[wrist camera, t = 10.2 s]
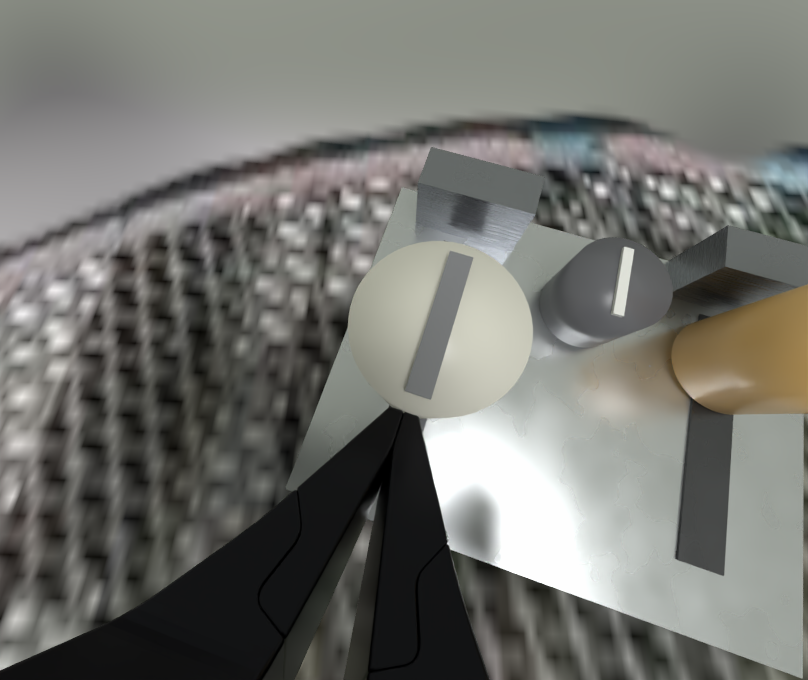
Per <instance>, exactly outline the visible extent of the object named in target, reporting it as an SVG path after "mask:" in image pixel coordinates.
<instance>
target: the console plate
mask: <svg viewBox="0 0 808 680" xmlns="http://www.w3.org/2000/svg"><path fill="white" fill-rule="evenodd" d="M544 178H545V177H543V176H539V175H536V174H532V173H528V172H524V171H520V170H517V169H513V168H509V167H505V166H501V165H498V164H494V163H490V162H486V161H483V160H479V159H475V158H471V157H467V156H464V155H460V154H456V153H452V152H448V151H445V150H441V149H437V148H433V147H431V149H430V152H429V154H428V157H427V160H426V162H425V165H424V168H423V170H422V173H421V176H420V178H419V181H418V191H414V190H410V189H407V188H403V187H402V189H401V192H400V194H399V197H398V199H397V202H396V204H395V207H394V210H393V212H392V215H391V217H390V220H389V222H388V225H387V228H386V230H385V233H384V235H383V238H382V241H381V243H380V246H379V248H378V251H377V253H376V256H375V259H374V261H373V264H372V266H371V268H372V267H374V266H375V265H376V264H377V263H378V262H379V261H380V260H382V259H383V258H385V257H386V256H387V255H389V254H391V253H393V252H394V251H396V250H398V249H401V248H403V247H406V246H408V245H412V244H416V243H420V242H428V241H447V242H455V243H459V244H464V245H467V246H470V247H473V248H475V249H477V250H480V251H482V252H484V253H486V254H487V255H489V256H490V257H492V258H493V259H495V260H496V261H497V262H499V263H500V264H501V265H502V266H504V267H505V268H506V270H507V271H508V272H509V273H510V274H511V275H512V276H513V277H514V279H515V280H516V281H517V283H518V284H519V286H520V288H521V289H522V291H523V293H524V295H525V297H526V300H527V302H528V305H529V308H530V312H531V316H532V325H533V340H532V347H531V352H530V355H529V359H528V362H527V364H526V366H525V368H524V371H523V373H522V374H521V376H520V377H519V379H518V380H517V382H516V383H515V384H514V386H513V387H512V388H511V389H510V390H509V391H508V392H507V393H506V394H505V395H504V396H503V397H501V398H500V399H499V400H498V401H496V402H495V403H493V404H492V405H490V406H488V407H487V408H484V409H482V410H480V411H478V412H475V413H472V414H468V415H465V416H459V417H453V418H431V419H420V423H421V428H422V432H423V436H424V440H425V445H426V449H427V453H428V457H429V462H430V466H431V470H432V474H433V479H434V483H435V487H436V491H437V496H438V500H439V504H440V509H441V513H442V517H443V521H444V526H445V530H446V534H447V538H448V543H447V544H448V545H449V546H450V550H453V551H456V552H459V553H461V554H464V555H467V556H469V557H472V558H475V559H478V560H480V561H483V562H486V563H489V564H491V565H494V566H497V567H500V568H502V569H505V570H508V571H510V572H513V573H516V574H519V575H521V576H524V577H527V578H530V579H532V580H535V581H538V582H540V583H543V584H546V585H549V586H551V587H554V588H557V589H560V590H562V591H565V592H568V593H570V594H573V595H576V596H579V597H581V598H584V599H587V600H590V601H592V602H595V603H598V604H601V605H603V606H606V607H609V608H611V609H614V610H617V611H620V612H622V613H625V614H628V615H631V616H633V617H636V618H639V619H641V620H644V621H647V622H650V623H652V624H655V625H658V626H661V627H663V628H666V629H669V630H671V631H674V632H677V633H680V634H682V635H685V636H688V637H691V638H693V639H696V640H699V641H702V642H704V643H707V644H710V645H712V646H715V647H718V648H721V649H723V650H726V651H729V652H732V653H734V654H737V655H740V656H742V657H745V658H748V659H751V660H753V661H756V662H759V663H762V664H764V665H767V666H770V667H772V668H775V669H778V670H781V671H783V672H786V673H789V674H792V675H794V676H797V677H800V678H802V679H803V414H743V415H729V414H722V413H718V412H715V411H712V410H710V409H708V408H706V407H704V406H702V405H701V404H699V403H698V402H697V401H695V400H694V399H693V398H692V397H691V396H690V395H689V394H688V393H687V392H686V391H685V390H684V388H683V387H682V386H681V384H680V383H679V381H678V379H677V377H676V375H675V372H674V369H673V365H672V358H671V354H672V346H673V343H674V340H675V338H676V337H677V335H678V334H679V332H680V331H681V330H682V329H683V328H685V327H686V326H688V325H689V324H691V323H694V322H697V321H700V320H703V319H706V318H709V317H712V316H714V315H717V314H720V313H723V312H726V311H729V310H732V309H735V308H738V307H741V306H744V305H747V304H750V303H753V302H756V301H759V300H762V299H765V298H768V297H771V296H774V295H777V294H780V293H783V292H786V291H789V290H792V289H795V288H798V287H801V286H804V285H807V284H808V246H805V245H801V244H797V243H793V242H790V241H786V240H782V239H778V238H774V237H771V236H767V235H763V234H759V233H755V232H752V231H748V230H744V229H740V228H737V227H733V226H729V225H728V226H726V227H725V228H723V229H721V230H720V231H718V232H716V233H715V234H713V235H711V236H710V237H708V238H706V239H705V240H703V241H701V242H700V243H698V244H696V245H695V246H693V247H691V248H690V249H688V250H686V251H685V252H683V253H681V254H680V255H678V256H676V257H675V258H673V259H671V260H670V261H667V260H664V259H660V258H659V259H660V260H661V261H662V263H663V264H664V265H665V267H666V269H667V271H668V273H669V275H670V278H671V281H672V287H673V297H672V302H671V305H670V308H669V309H668V311H667V313H666V314H665V315H664V317H663V318H662V319H661V320H659V321H658V322H657V323H655V324H654V325H652V326H649V327H647V328H644V329H642V330H639V331H636V332H634V333H631V334H628V335H626V336H623V337H621V338H618V339H615V340H613V341H610V342H607V343H605V344H602V345H599V346H596V347H590V348H583V347H576V346H572V345H570V344H567V343H565V342H563V341H561V340H560V339H558V338H557V337H556V336H555V335H553V334H552V333H551V331H550V330H549V329H548V328H547V326H546V325H545V323H544V321H543V319H542V317H541V313H540V308H539V300H540V295H541V292H542V290H543V288H544V286H545V285H546V283H547V282H548V281H549V280H550V279H551V278H552V277H553V276H554V275H555V274H556V273H558V272H559V271H560V270H561V269H562V268H563V267H564V266H565V265H566V264H567V263H568V262H569V261H570V260H571V259H572V258H573V257H574V256H575V255H576V254H577V253H578V252H580V251H581V250H582V249H583V248H584V247H585V246H586V245H588V244H590V243H591V242H594V241H595V240H591V239H588V238H584V237H580V236H577V235H573V234H570V233H566V232H562V231H559V230H555V229H551V228H548V227H544V226H541V225H537V224H533V223H530V222H531V220H532V219H533V217H534V216H535V214H536V210H537V206H538V202H539V198H540V194H541V190H542V186H543V182H544ZM370 270H371V269H370ZM389 407H391V406H390V405H389V404H388V403H387V402H386V401H385V400H384V399H383V398H382V397H381V396H380V395H379V394H378V393H377V392H376V391H375V390H374V389H373V388H372V387H371V385H370V384H369V383H368V382H367V380H366V379H365V378H364V376H363V375H362V373H361V372H360V370H359V368H358V366H357V364H356V362H355V360H354V357H353V354H352V351H351V347H350V343H349V336H348V328H347V331H346V333H345V336H344V338H343V341H342V344H341V346H340V349H339V351H338V354H337V357H336V359H335V362H334V364H333V367H332V369H331V372H330V375H329V377H328V380H327V382H326V385H325V387H324V390H323V393H322V395H321V398H320V400H319V403H318V406H317V408H316V411H315V413H314V416H313V418H312V421H311V424H310V426H309V429H308V431H307V434H306V436H305V439H304V442H303V444H302V447H301V449H300V452H299V455H298V457H297V460H296V462H295V465H294V467H293V470H292V473H291V475H290V478H289V480H288V483H287V485H286V488H285V489H287V490H289V491H292V492H293V491H294V490H297V488H298V487H299V486H300V485H301V484H302V483H303V482H304V481H305V480H307V479H308V478H309V477H310V476H311V475H312V474H313V473H314V472H316V471H317V470H318V469H319V468H320V467H321V466H322V465H324V464H325V463H326V462H327V461H328V460H329V459H330V458H332V457H333V456H334V455H335V454H336V453H337V452H338V451H339V450H341V449H342V448H343V447H344V446H345V445H346V444H347V443H349V442H350V441H351V440H352V439H353V438H354V437H355V436H357V435H358V434H359V433H360V432H361V431H362V430H363V429H365V428H366V427H367V426H368V425H369V424H370V423H371V422H372V421H374V420H375V419H376V418H377V417H378V416H379V415H380V414H382V413H383V412H384V411H385V410H386V409H387V408H389ZM379 491H380V489H379ZM378 495H379V492H378V494H377V497H376V499H375V502H374V504H373V506H372V508H371V510H370V513H369V515H368V517H367V519H368V520H371V521H374V516H375V510H376V505H377V500H378Z"/></svg>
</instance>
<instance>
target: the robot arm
mask: <svg viewBox="0 0 808 680" xmlns="http://www.w3.org/2000/svg"><path fill="white" fill-rule="evenodd" d="M379 489H380V491H379ZM378 492H379V495H378V500H377V505H376V510H375V516H374V521H373V526H372V531H371V537H370V542H369V547H368V553H367V558H366V563H365V569H364V574H363V579H362V584H361V590H360V595H359V600H358V606H357V611H356V616H355V621H354V627H353V632H352V637H351V643H350V648H349V653H348V658H347V664H346V669H345V674H344V680H490V679H489V676H488V673H487V670H486V667H485V664H484V661H483V658H482V655H481V652H480V650H479V647H478V644H477V641H476V638H475V635H474V632H473V629H472V626H471V622H470V619H469V616H468V613H467V610H466V607H465V603H464V600H463V597H462V594H461V590H460V586H459V582H458V579H457V575H456V571H455V567H454V563H453V559H452V555H451V550H450V546H449V545H448V544H447V543H448V538H447V534H446V530H445V526H444V521H443V517H442V513H441V509H440V504H439V500H438V496H437V491H436V487H435V483H434V479H433V474H432V470H431V466H430V462H429V457H428V453H427V449H426V445H425V440H424V436H423V432H422V428H421V423H420V419H419V417H418V416H417V415H413V414H410V413H407V412H404V413H403V411H402V410H400V409H396V408H393V407H389V408H387V409H386V410H385V411H384V412H383V413H382V414H380V415H379V416H378V417H377V418H376V419H375V420H374V421H372V422H371V423H370V424H369V425H368V426H367V427H366V428H365V429H363V430H362V431H361V432H360V433H359V434H358V435H357V436H355V437H354V438H353V439H352V440H351V441H350V442H349V443H347V444H346V445H345V446H344V447H343V448H342V449H341V450H339V451H338V452H337V453H336V454H335V455H334V456H333V457H332V458H330V459H329V460H328V461H327V462H326V463H325V464H324V465H322V466H321V467H320V468H319V469H318V470H317V471H316V472H314V473H313V474H312V475H311V476H310V477H309V478H308V479H307V480H305V481H304V482H303V483H302V484H301V485H300V486H299V487H298V488H297V490H294V491H293V492H292V493H290V494H289V495H288V496H287V497H286V498H285V499H284V500H282V501H281V502H280V503H279V504H278V505H277V506H275V507H274V508H273V509H272V510H270V511H269V512H268V513H267V514H266V515H264V516H263V517H262V518H261V519H260V520H258V521H257V522H256V523H254V524H253V525H252V526H250V527H249V528H248V529H246V530H245V531H244V532H242V533H241V534H240V535H238V536H237V537H236V538H234V539H233V540H232V541H230V542H229V543H227V544H226V545H225V546H223V547H222V548H220V549H219V550H217V551H216V552H215V553H213V554H212V555H210V556H209V557H208V558H206V559H205V560H203V561H202V562H201V563H199V564H198V565H196V566H195V567H194V568H192V569H191V570H189V571H188V572H187V573H185V574H184V575H182V576H181V577H180V578H178V579H177V580H175V581H174V582H173V583H171V584H170V585H168V586H167V587H166V588H164V589H163V590H161V591H160V592H158V593H157V594H155V595H154V596H153V597H151V598H150V599H148V600H146V601H145V602H143V603H142V604H140V605H139V606H137V607H135V608H134V609H132V610H130V611H129V612H127V613H125V614H123V615H122V616H120V617H118V618H116V619H114V620H112V621H110V622H108V623H106V624H104V625H102V626H100V627H98V628H96V629H93V630H91V631H89V632H87V633H84V634H82V635H80V636H77V637H75V638H73V639H71V640H68V641H66V642H64V643H62V644H59V645H57V646H55V647H53V648H50V649H48V650H46V651H43V652H41V653H39V654H37V655H34V656H32V657H30V658H28V659H25V660H23V661H21V662H19V663H16V664H14V665H12V666H9V667H7V668H5V669H3V670H0V680H294V679H295V677H296V675H297V673H298V670H299V668H300V666H301V664H302V662H303V659H304V657H305V655H306V653H307V650H308V648H309V646H310V644H311V642H312V639H313V637H314V635H315V633H316V630H317V628H318V626H319V624H320V622H321V619H322V617H323V615H324V613H325V610H326V608H327V606H328V604H329V602H330V599H331V597H332V595H333V593H334V590H335V588H336V586H337V584H338V582H339V579H340V577H341V575H342V573H343V570H344V568H345V566H346V564H347V562H348V559H349V557H350V555H351V553H352V550H353V548H354V546H355V544H356V542H357V539H358V537H359V535H360V533H361V530H362V528H363V526H364V524H365V522H366V519H367V517H368V515H369V513H370V510H371V508H372V506H373V504H374V502H375V499H376V497H377V494H378Z"/></svg>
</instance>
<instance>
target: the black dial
mask: <svg viewBox="0 0 808 680" xmlns="http://www.w3.org/2000/svg"><path fill="white" fill-rule="evenodd" d="M672 297H673V287H672V281H671V278H670V275H669V273H668V271H667V269H666V267H665V265H664V264H663V263H662V261H661V260H660V259H659V258H658V257H657V256H656V255H655V254H654V253H653V252H652V251H650V250H649V249H648V248H646V247H644V246H643V245H641V244H639V243H637V242H634V241H631V240H628V239H624V238H603V239H599V240H596V241H594V242H591V243H590V244H588V245H586V246H585V247H584V248H583V249H582V250H581V251H580V252H578V253H577V254H576V255H575V256H574V257H573V258H572V259H571V260H570V261H569V262H568V263H567V264H566V265H565V266H564V267H563V268H562V269H561V270H560V271H559V272H558V273H556V274H555V275H554V276H553V277H552V278H551V279H550V280H549V281H548V282H547V283H546V285H545V286H544V288H543V290H542V292H541V295H540V300H539V308H540V313H541V317H542V319H543V321H544V323H545V325H546V326H547V328H548V329H549V330H550V331H551V333H552V334H553V335H555V336H556V337H557V338H558V339H560V340H561V341H563V342H565V343H567V344H570V345H572V346H576V347H583V348H590V347H596V346H599V345H602V344H605V343H607V342H610V341H613V340H615V339H618V338H621V337H623V336H626V335H628V334H631V333H634V332H636V331H639V330H642V329H644V328H647V327H649V326H652V325H654V324H655V323H657V322H658V321H659V320H661V319H662V318H663V317H664V315H665V314H666V313H667V311H668V309H669V308H670V305H671V302H672Z"/></svg>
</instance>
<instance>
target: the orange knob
mask: <svg viewBox="0 0 808 680" xmlns="http://www.w3.org/2000/svg"><path fill="white" fill-rule="evenodd" d="M671 358H672V365H673V369H674V372H675V375H676V377H677V379H678V381H679V383H680V384H681V386H682V387H683V388H684V390H685V391H686V392H687V393H688V394H689V395H690V396H691V397H692V398H693V399H694V400H695V401H697V402H698V403H699V404H701V405H702V406H704V407H706V408H708V409H710V410H712V411H715V412H718V413H722V414H729V415H743V414H808V284H807V285H804V286H801V287H798V288H795V289H792V290H789V291H786V292H783V293H780V294H777V295H774V296H771V297H768V298H765V299H762V300H759V301H756V302H753V303H750V304H747V305H744V306H741V307H738V308H735V309H732V310H729V311H726V312H723V313H720V314H717V315H714V316H712V317H709V318H706V319H703V320H700V321H697V322H694V323H691V324H689V325H688V326H686V327H685V328H683V329H682V330H681V331H680V332H679V334H678V335H677V337H676V338H675V340H674V343H673V346H672V354H671Z"/></svg>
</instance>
